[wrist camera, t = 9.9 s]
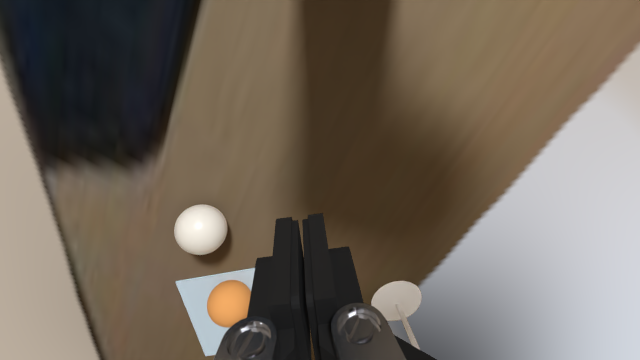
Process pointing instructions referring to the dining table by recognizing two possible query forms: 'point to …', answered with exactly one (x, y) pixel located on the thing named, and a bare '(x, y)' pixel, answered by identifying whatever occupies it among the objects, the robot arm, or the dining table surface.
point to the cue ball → (200, 229)
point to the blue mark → (196, 305)
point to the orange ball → (228, 303)
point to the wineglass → (398, 303)
